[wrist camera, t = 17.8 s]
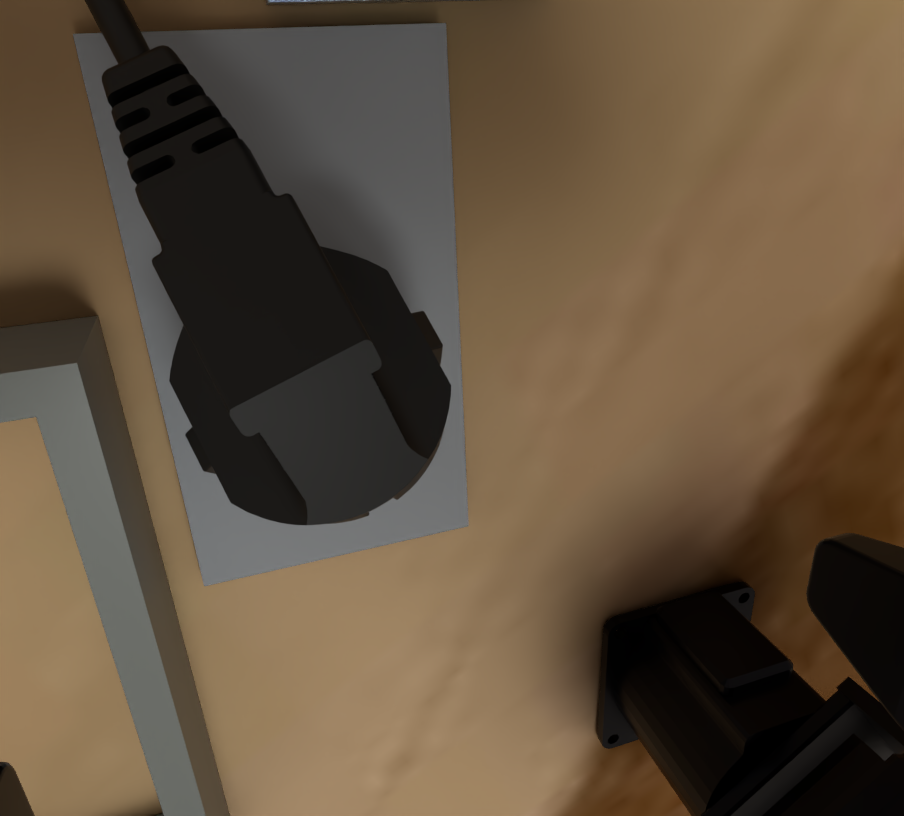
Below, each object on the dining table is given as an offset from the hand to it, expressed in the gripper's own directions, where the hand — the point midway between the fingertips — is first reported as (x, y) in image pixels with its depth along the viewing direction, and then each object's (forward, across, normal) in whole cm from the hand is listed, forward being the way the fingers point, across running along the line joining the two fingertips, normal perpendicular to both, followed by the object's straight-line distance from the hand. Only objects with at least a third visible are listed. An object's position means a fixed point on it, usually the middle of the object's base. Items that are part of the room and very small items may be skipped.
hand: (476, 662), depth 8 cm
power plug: (+13, +1, -3) cm, 13 cm away
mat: (+13, 0, 0) cm, 13 cm away
